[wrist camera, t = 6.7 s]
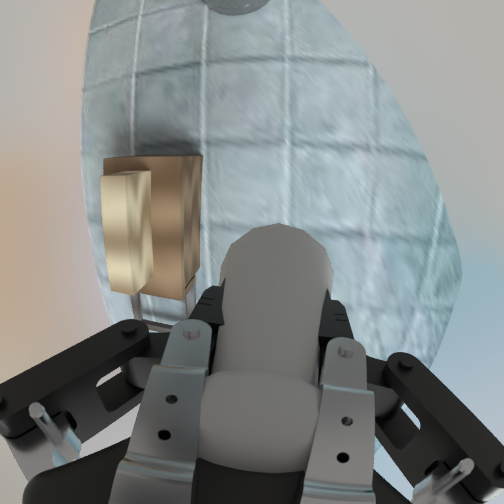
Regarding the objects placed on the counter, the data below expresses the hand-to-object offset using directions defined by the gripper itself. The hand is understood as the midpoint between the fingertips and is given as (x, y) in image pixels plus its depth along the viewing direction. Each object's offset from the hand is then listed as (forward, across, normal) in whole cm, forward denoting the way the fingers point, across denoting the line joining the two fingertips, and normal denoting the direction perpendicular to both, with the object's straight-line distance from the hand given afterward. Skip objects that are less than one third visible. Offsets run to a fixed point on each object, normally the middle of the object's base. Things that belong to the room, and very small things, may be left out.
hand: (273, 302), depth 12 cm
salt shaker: (+5, 0, 0) cm, 5 cm away
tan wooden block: (+21, +15, +7) cm, 27 cm away
